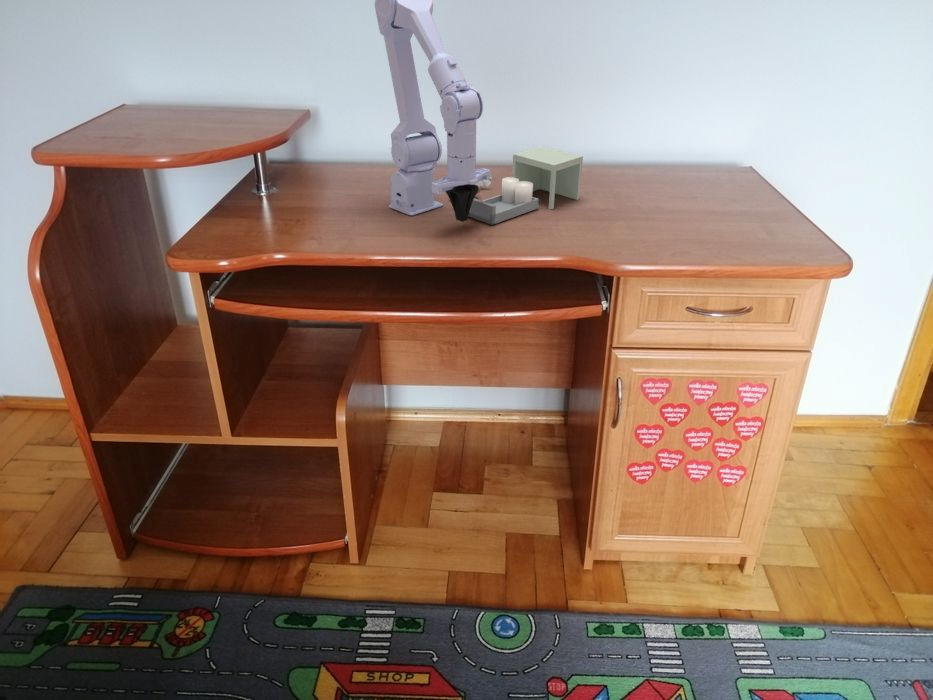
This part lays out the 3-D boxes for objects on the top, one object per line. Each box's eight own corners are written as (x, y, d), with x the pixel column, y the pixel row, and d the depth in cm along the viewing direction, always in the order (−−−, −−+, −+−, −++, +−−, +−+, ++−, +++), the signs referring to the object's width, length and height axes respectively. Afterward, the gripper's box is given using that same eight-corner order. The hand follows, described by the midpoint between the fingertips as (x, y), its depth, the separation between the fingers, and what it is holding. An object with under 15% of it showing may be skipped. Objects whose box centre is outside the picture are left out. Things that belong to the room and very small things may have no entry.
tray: (492, 224, 147) (492, 198, 144) (465, 215, 152) (465, 189, 149) (538, 208, 156) (540, 182, 153) (512, 199, 161) (513, 175, 158)
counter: (551, 209, 156) (554, 165, 151) (511, 196, 163) (513, 154, 158) (579, 199, 162) (582, 156, 157) (539, 187, 169) (541, 146, 164)
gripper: (448, 165, 132) (449, 234, 139) (501, 151, 141) (499, 216, 148) (423, 158, 136) (425, 224, 143) (476, 144, 145) (475, 208, 152)
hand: (461, 219), depth 146 cm, fingers closed
